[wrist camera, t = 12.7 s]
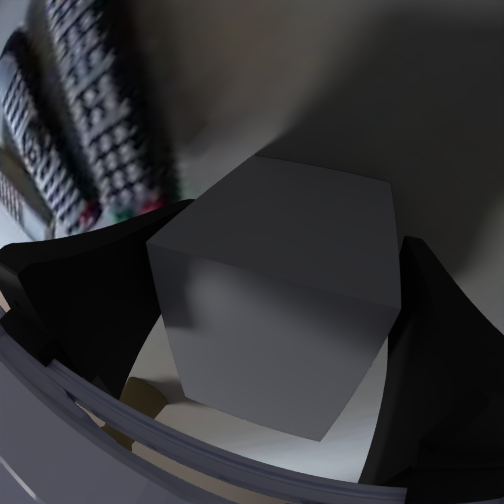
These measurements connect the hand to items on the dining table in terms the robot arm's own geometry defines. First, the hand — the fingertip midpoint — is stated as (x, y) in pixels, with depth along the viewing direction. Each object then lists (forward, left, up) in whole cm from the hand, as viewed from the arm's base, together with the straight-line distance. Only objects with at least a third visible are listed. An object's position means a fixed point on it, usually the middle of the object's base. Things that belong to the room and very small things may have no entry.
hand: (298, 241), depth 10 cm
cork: (+18, +29, -4) cm, 34 cm away
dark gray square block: (0, +2, -3) cm, 4 cm away
